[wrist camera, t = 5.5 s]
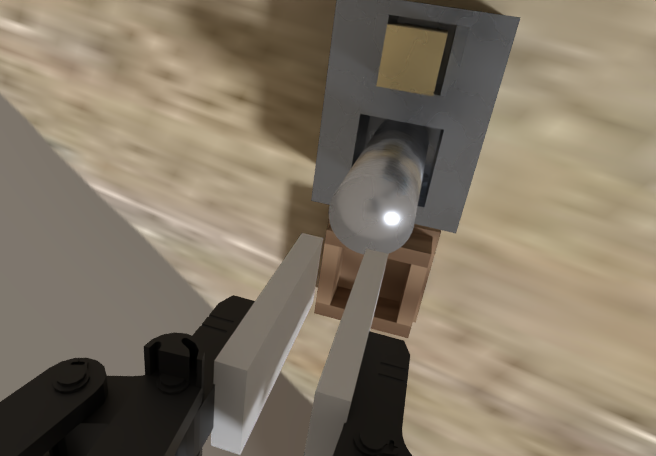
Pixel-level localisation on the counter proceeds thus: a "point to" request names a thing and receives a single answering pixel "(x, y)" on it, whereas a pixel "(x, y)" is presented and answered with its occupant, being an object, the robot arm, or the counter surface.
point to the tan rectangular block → (411, 58)
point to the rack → (397, 284)
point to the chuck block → (413, 98)
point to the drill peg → (381, 190)
